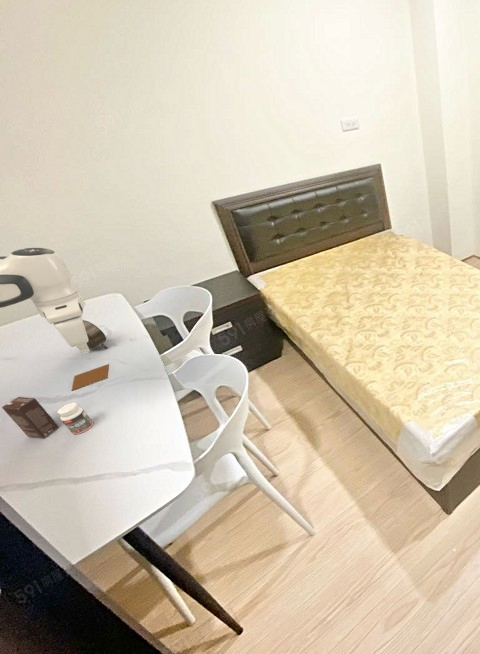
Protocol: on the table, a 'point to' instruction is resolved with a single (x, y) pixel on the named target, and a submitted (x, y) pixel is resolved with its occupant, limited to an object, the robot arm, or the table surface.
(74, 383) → the coaster
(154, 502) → the table surface
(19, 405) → the box
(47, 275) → the robot arm
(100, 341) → the alarm clock
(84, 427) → the pill bottle
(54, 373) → the table surface
